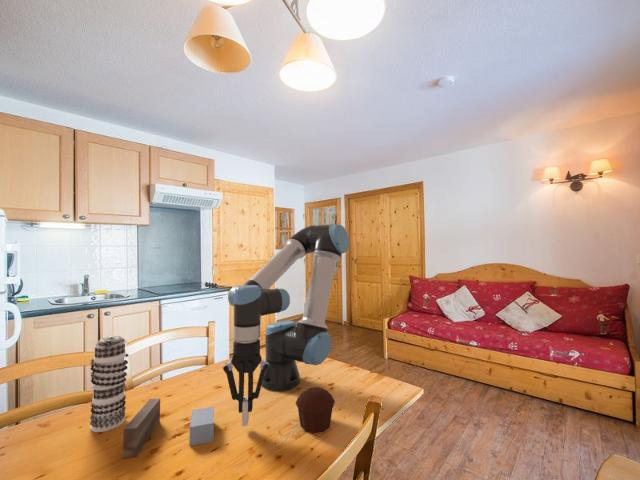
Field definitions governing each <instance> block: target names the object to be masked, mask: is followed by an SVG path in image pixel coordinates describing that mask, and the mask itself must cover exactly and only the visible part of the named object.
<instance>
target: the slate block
mask: <svg viewBox="0 0 640 480" xmlns="http://www.w3.org/2000/svg"><path fill="white" fill-rule="evenodd" d="M214 424H215V406H209V407H203V408H196V409H192V410H191V415H190V423H189V439H188V440H189V442H188V443H189V444H188V446H189V447H192V446H196V445H202V444H206V443H211V442H214V439H215V438H214V436H215V435H214V434H215V433H214V432H215V431H214V430H215V429H214V428H215V427H214V426H215V425H214Z"/></svg>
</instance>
